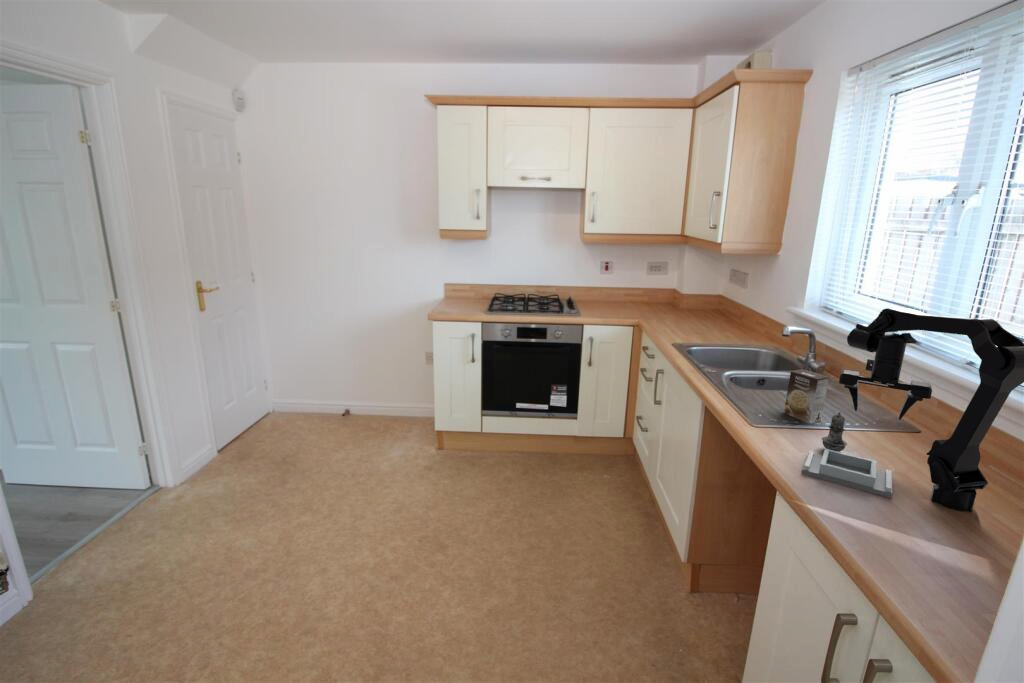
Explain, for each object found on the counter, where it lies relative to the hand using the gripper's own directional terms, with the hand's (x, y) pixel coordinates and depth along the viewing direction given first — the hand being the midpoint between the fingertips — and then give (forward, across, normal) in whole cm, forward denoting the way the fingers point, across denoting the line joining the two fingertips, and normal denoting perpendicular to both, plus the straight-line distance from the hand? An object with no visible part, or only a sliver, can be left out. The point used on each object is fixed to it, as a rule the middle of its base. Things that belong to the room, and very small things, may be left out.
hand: (877, 414), depth 127 cm
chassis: (+13, +4, +14) cm, 20 cm away
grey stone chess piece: (+13, +8, +1) cm, 15 cm away
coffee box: (+13, +18, -20) cm, 30 cm away
